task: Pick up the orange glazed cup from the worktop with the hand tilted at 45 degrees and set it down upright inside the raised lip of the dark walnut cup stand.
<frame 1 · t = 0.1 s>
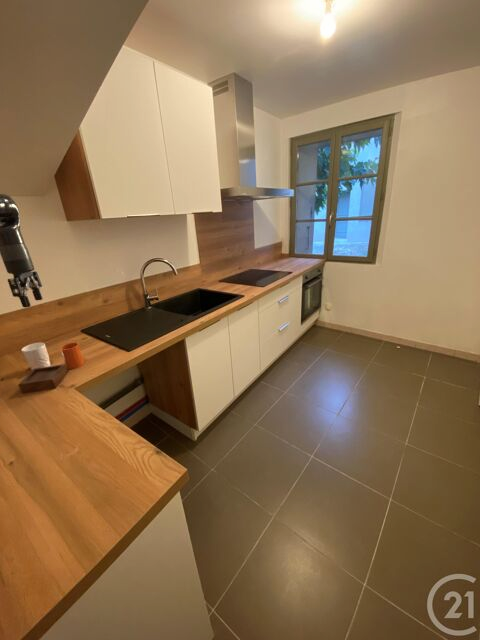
hand: (33, 303, 95), 30 cm above the worktop, tool pointing down, fingers open, 8 cm apart
white cup: (41, 367, 111), on the worktop
cup stand: (46, 382, 100), on the worktop
cup: (75, 364, 112), on the worktop
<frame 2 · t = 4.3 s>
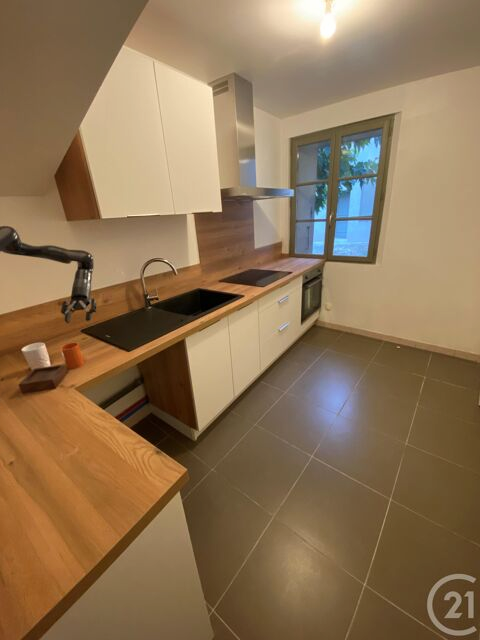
hand: (77, 321, 116), 16 cm above the worktop, tool tilted 45°, fingers open, 8 cm apart
nothing on the worktop moved.
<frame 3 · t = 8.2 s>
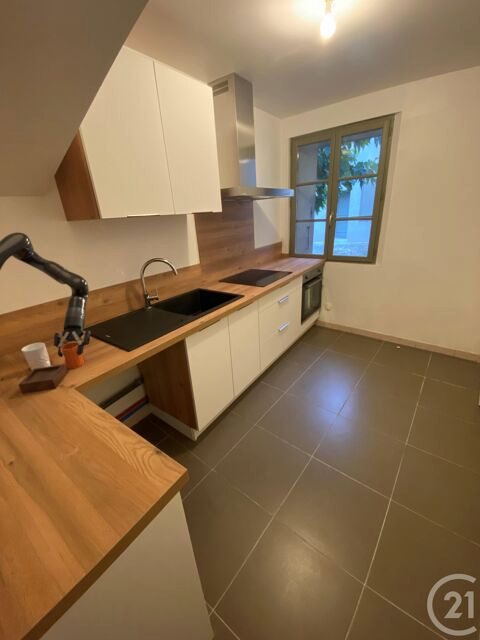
hand: (70, 355, 108), 5 cm above the worktop, tool tilted 45°, fingers closed on cup, 6 cm apart
cup: (75, 364, 112), on the worktop, touching gripper
everything else where it was.
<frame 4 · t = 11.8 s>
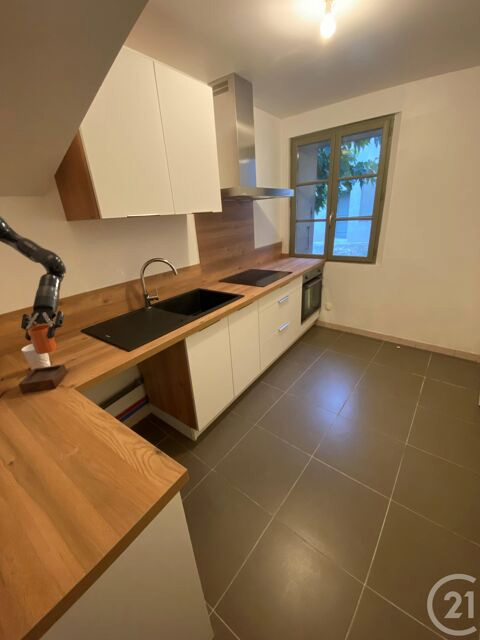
hand: (39, 338, 96), 17 cm above the worktop, tool tilted 45°, fingers closed on cup, 6 cm apart
cup: (46, 349, 100), point 12 cm above the worktop, touching gripper
everything else where it was.
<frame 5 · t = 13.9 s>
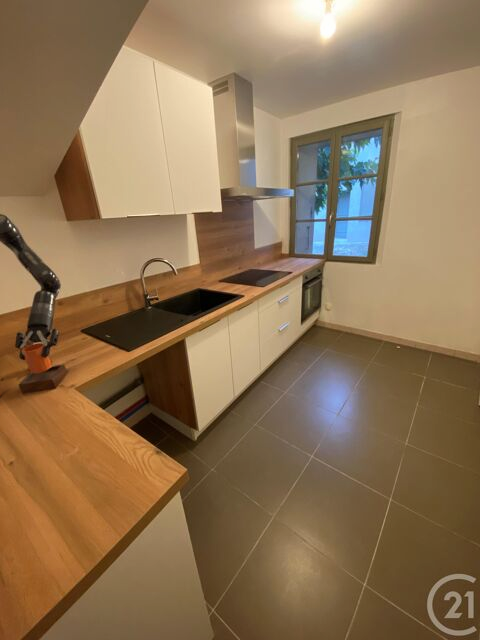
hand: (33, 358, 95), 12 cm above the worktop, tool tilted 45°, fingers closed on cup, 6 cm apart
cup: (41, 368, 98), point 6 cm above the worktop, touching gripper
everything else where it was.
when the fingers open (8 cm above the worktop, at t = 15.5 s): cup stays where it is, resting on cup stand.
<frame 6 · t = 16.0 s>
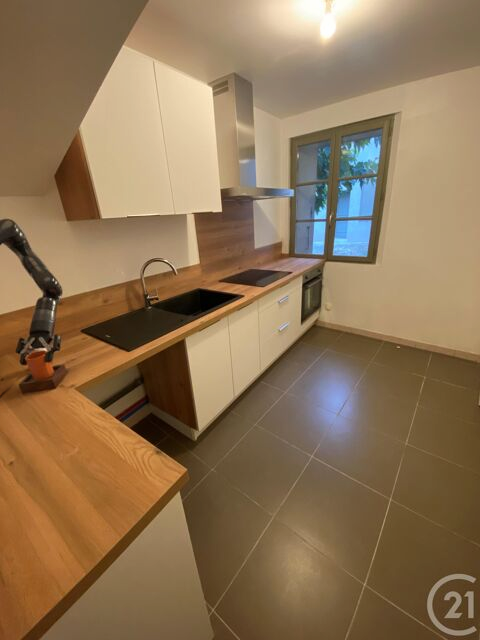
hand: (35, 363, 95), 9 cm above the worktop, tool tilted 45°, fingers open, 8 cm apart
cup: (44, 375, 99), point 3 cm above the worktop, touching cup stand
everything else where it was.
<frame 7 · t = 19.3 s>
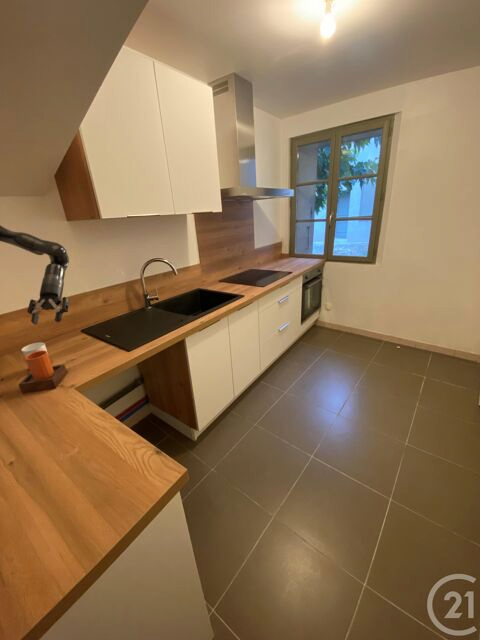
hand: (45, 322, 104), 20 cm above the worktop, tool tilted 45°, fingers open, 8 cm apart
nothing on the worktop moved.
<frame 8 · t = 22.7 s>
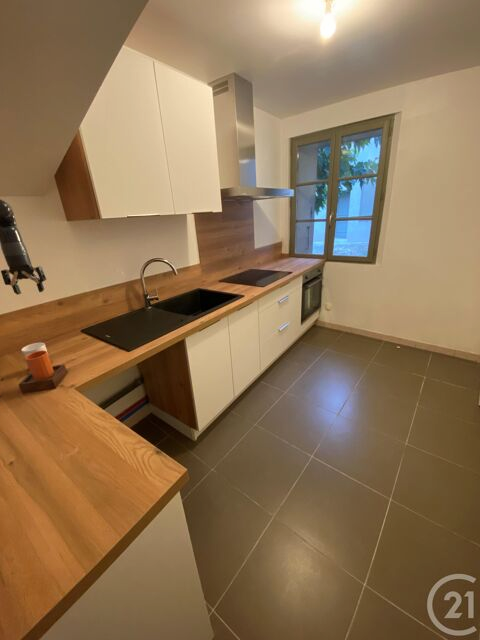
hand: (30, 292, 110), 30 cm above the worktop, tool pointing down, fingers open, 8 cm apart
nothing on the worktop moved.
at the end: cup 0.1 cm off-centre on the cup stand, point 3.0 cm above the cup stand's base; cup tilted 0°; the gripper is holding nothing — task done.
